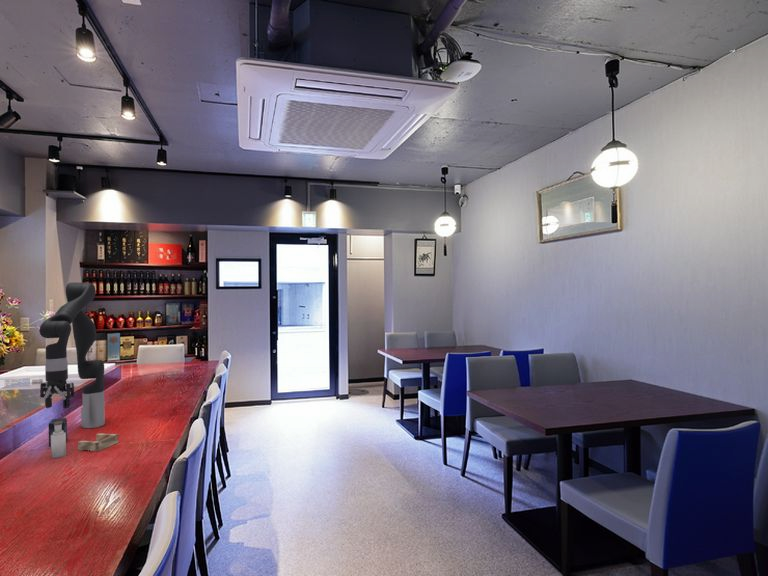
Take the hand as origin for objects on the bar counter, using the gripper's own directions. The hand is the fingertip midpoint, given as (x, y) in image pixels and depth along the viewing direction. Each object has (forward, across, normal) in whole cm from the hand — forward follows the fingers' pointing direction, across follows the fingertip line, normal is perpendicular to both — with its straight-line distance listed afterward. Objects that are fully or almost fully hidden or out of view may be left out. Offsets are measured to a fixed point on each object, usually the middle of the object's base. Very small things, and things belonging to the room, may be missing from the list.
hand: (57, 407), depth 185 cm
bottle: (+20, 0, 0) cm, 20 cm away
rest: (+20, +8, +12) cm, 25 cm away
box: (+20, -14, +13) cm, 28 cm away
